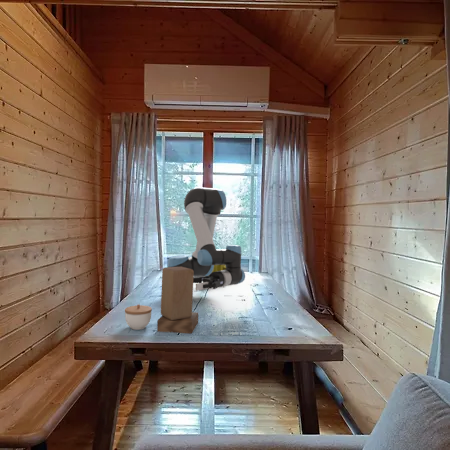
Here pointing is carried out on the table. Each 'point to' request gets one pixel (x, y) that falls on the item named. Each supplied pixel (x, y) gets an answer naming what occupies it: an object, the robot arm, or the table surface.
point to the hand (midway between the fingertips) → (185, 284)
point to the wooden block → (177, 292)
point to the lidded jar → (138, 316)
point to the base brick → (178, 324)
